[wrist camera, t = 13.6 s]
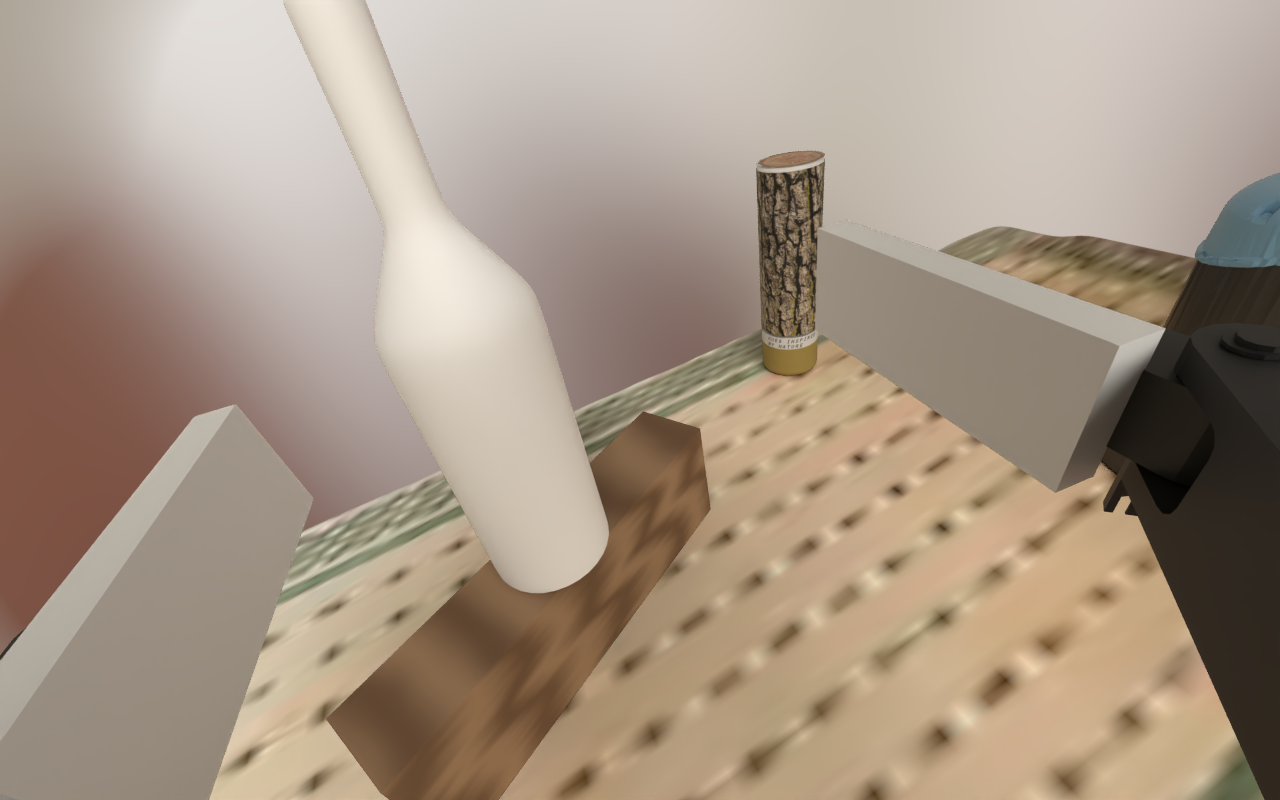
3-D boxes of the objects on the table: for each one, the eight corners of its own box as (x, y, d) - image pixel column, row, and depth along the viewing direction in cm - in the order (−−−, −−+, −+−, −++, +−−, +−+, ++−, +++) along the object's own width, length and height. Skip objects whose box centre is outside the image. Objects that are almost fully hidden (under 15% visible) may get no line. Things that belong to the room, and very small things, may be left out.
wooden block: (659, 488, 51) (643, 411, 45) (710, 509, 47) (699, 428, 42) (406, 785, 33) (325, 718, 27) (459, 852, 29) (380, 792, 24)
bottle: (509, 506, 38) (284, 23, 21) (612, 493, 37) (464, -19, 20) (482, 601, 31) (120, 10, 14) (606, 588, 31) (379, -54, 14)
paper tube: (828, 366, 63) (839, 153, 49) (782, 384, 62) (781, 170, 47) (795, 345, 69) (797, 148, 54) (753, 361, 67) (743, 163, 53)
